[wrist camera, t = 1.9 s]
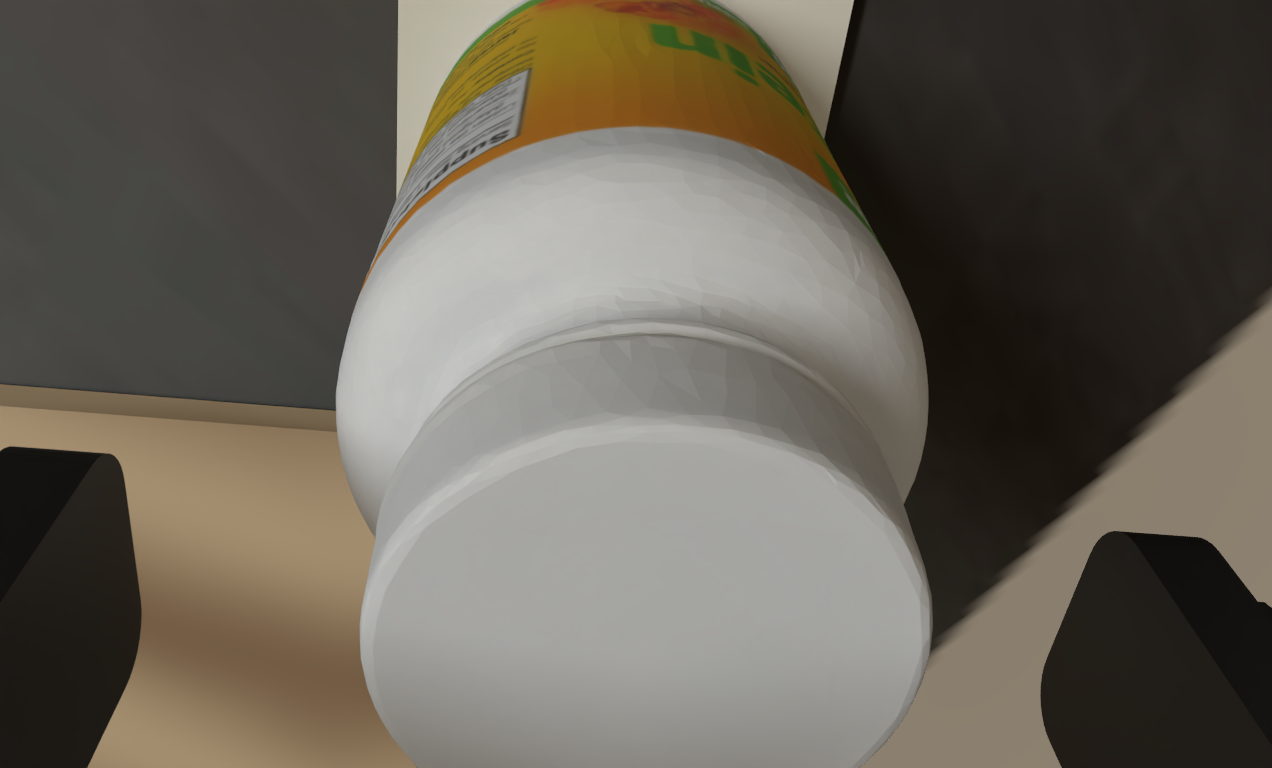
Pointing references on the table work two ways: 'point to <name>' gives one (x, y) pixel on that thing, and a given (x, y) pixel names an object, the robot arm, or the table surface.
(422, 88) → the tile
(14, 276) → the table surface
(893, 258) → the table surface
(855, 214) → the supplement bottle
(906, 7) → the table surface
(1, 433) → the oak coaster
